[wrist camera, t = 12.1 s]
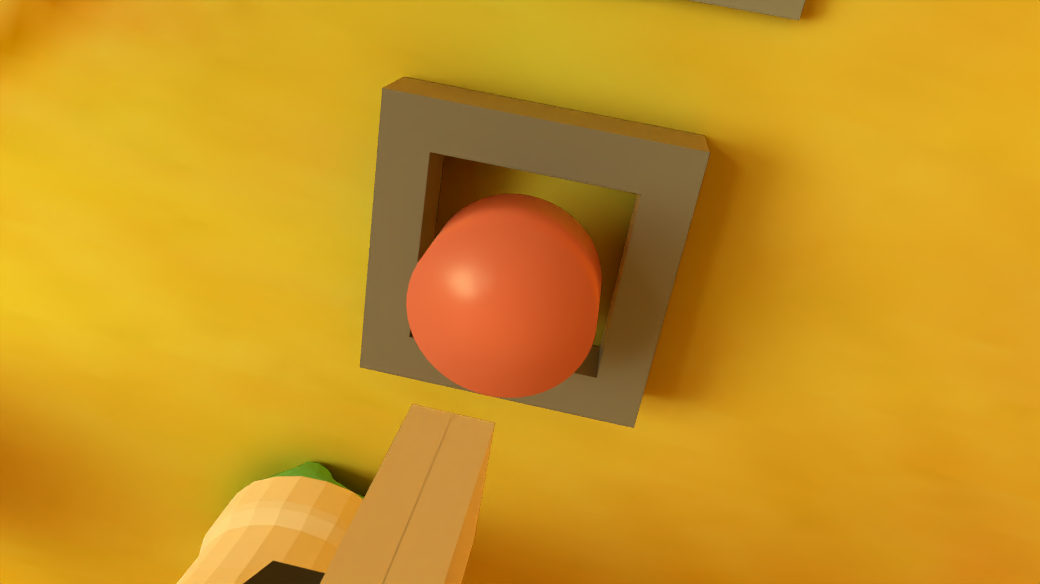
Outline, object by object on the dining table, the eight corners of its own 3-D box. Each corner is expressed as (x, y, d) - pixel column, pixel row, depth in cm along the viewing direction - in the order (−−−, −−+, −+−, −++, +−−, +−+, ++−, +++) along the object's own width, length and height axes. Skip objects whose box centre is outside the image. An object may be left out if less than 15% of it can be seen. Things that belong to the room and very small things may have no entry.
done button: (421, 333, 23) (398, 376, 21) (441, 177, 21) (416, 205, 19) (582, 368, 23) (576, 415, 20) (618, 213, 20) (615, 246, 18)
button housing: (379, 338, 26) (359, 367, 24) (403, 76, 22) (382, 88, 21) (634, 394, 26) (633, 427, 24) (704, 135, 22) (710, 152, 20)
